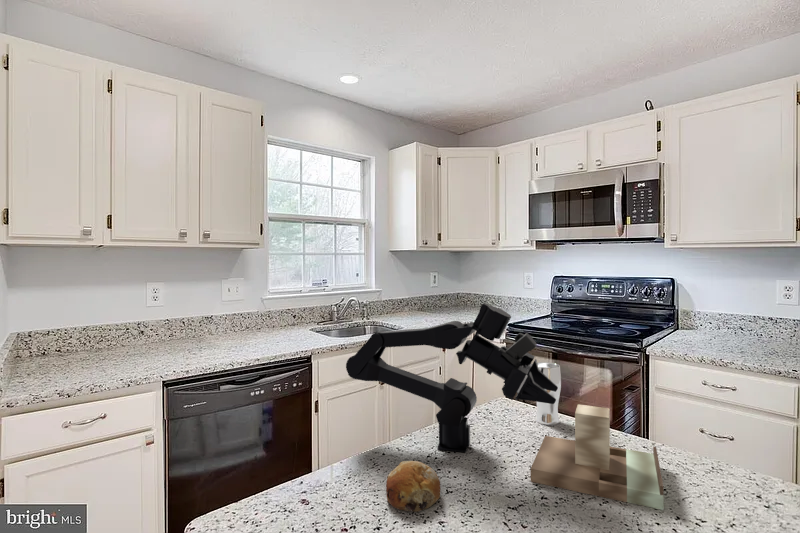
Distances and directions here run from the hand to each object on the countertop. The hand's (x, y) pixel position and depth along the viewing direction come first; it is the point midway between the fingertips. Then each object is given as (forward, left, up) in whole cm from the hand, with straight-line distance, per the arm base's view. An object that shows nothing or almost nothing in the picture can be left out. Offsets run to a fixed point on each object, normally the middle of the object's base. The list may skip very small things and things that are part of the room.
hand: (556, 395), depth 92 cm
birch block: (+7, -3, -12) cm, 14 cm away
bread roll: (-26, -21, -14) cm, 37 cm away
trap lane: (+7, -3, -14) cm, 16 cm away
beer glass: (0, +25, -14) cm, 29 cm away
